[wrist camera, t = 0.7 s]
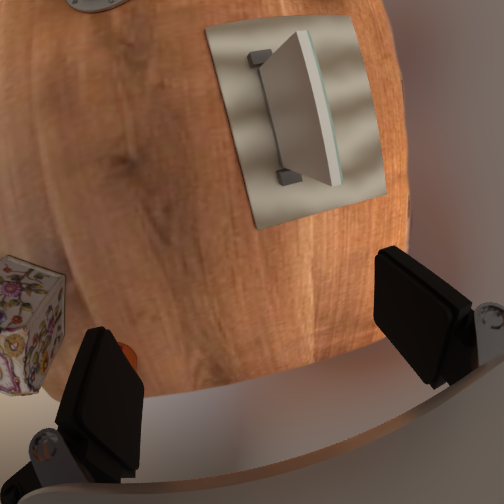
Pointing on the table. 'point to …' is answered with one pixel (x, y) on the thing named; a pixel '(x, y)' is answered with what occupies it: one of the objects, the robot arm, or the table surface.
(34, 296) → the decorative jar
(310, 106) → the glazed tile
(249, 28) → the tile board
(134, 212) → the table surface
